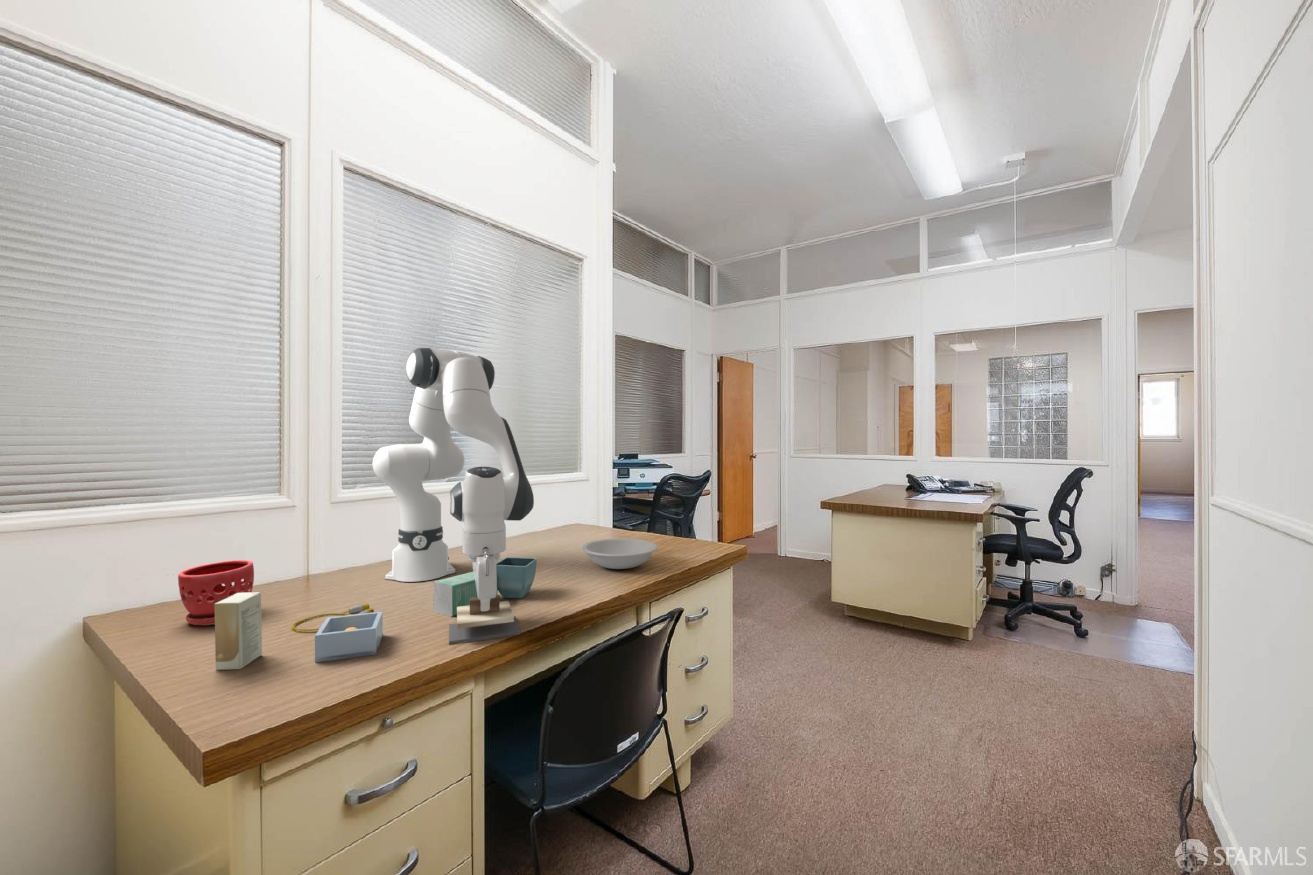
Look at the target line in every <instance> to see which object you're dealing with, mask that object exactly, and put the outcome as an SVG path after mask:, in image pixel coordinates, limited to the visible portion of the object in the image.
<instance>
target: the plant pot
mask: <svg viewBox="0 0 1313 875" xmlns="http://www.w3.org/2000/svg"><path fill="white" fill-rule="evenodd" d="M254 567H255V566H254V563H253V561H252V560H243V559H240V560H239V559H238V560H237V559H236V560H226V561H218V562H214V563H212V562H211V563H206V564H203V565H202V564H201V565H198V566H193V567H190V568H187V569H184V570H183V571H181V572H180V573H178V575H177V576H178V577H177V582H178V583H177V584H178V588H179V591H178V592H179V596H180V600H181V601H182V604H183V606H184V608H185V610H186V611H187V612H188V614H187V615H186V616H185V620H186V622H187V623H189V624H190V625H194V626H213V625H214V626H215V603H217V602H219V601H221V600H223V599H225V598H228V597H230V596H232V595H234V594H236V593H246V592H253V588H254V583H255V582H254V581H255V580H254V579H255V569H254ZM242 580H243V581H242ZM232 584H233V585H232Z"/></svg>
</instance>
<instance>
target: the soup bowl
mask: <svg viewBox="0 0 1313 875" xmlns="http://www.w3.org/2000/svg"><path fill="white" fill-rule="evenodd" d="M658 547H659V545H658V544H656V543H655V542H653V541H650V540H645V539H640V538H629V537H628V538H625V537H623V538H621V537H620V538H618V537H617V538H603V539H597V540H593V541H589V542H586V543H584V544H583V545H581V550H582V551H583V552H584V553H586V554H587V556H588V557H589V559H590V560H592V562H593V563H594V564H596V565H598V566H599V567H601V568H606V569H611V570H626V569H627V570H628V569H633V568H636V567H639V566H641V565H643V564H645V563H646V562H647V561H648V560H649V559H650V558H651V556H652V555H653V553H654V552H655V551H657V550H658V549H659V548H658Z"/></svg>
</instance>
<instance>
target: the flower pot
mask: <svg viewBox="0 0 1313 875" xmlns="http://www.w3.org/2000/svg"><path fill="white" fill-rule="evenodd" d="M537 562H538V558H534V557H514V556H513V557H510V556H509V557H508V556H506V557H504V558H503V559H501V560H500V561H497V562H496V569H497V581H498V593H499V595H501V597H502V598H503V599H506V598H507V599H522V598H523V597H525V596H526V595H527V594H528V593H529V591H530V590H531V588H532V586H533V584H534V580H535V577H536V569H537Z"/></svg>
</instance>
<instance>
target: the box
mask: <svg viewBox="0 0 1313 875" xmlns="http://www.w3.org/2000/svg"><path fill="white" fill-rule="evenodd" d="M497 593H499V591H498V581H497ZM474 597H478V596H477V590H476V583H475V577H474V572H473V571H470V572H467V573H463V574H457V575H454V576H450V577H447V578H442V579H439V580H435V581H433V604H432V605H433V608H432V609H433V613H437V614H440V615H443V616H446V617H449V618H451V617H452V618H453V617H455V616H457V607H459V606H468V605H470V598H474Z"/></svg>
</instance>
